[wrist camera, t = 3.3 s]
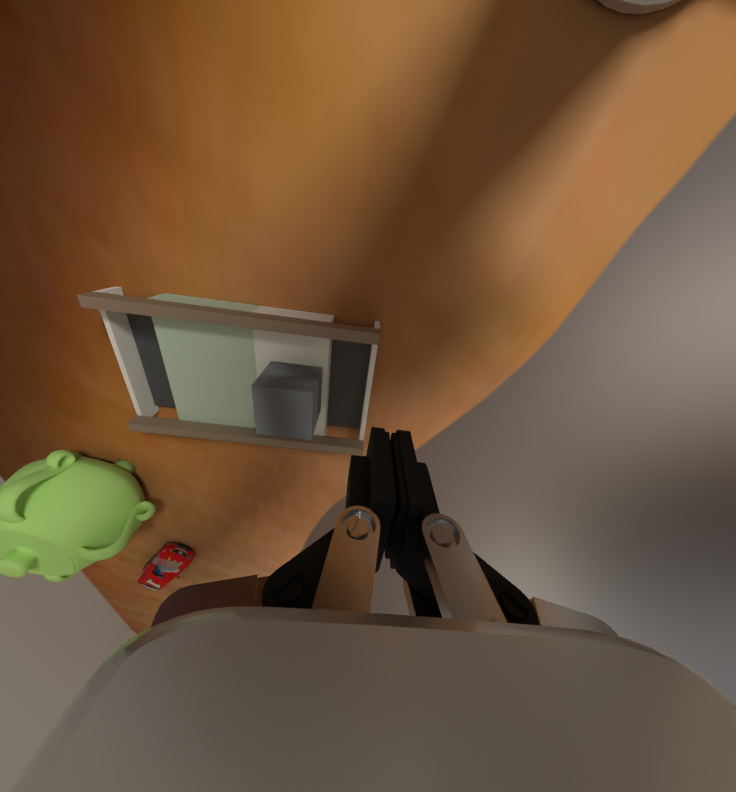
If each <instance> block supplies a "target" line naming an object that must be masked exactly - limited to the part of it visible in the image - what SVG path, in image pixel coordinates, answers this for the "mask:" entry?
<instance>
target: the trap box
mask: <svg viewBox="0 0 736 792" xmlns="http://www.w3.org/2000/svg"><path fill="white" fill-rule="evenodd" d="M77 297H78V300H79V302H80V305H81V307H83V308H91V309H99V310H100V313H101V316H102V319H103V321H104V324H105V327H106V330H107V333H108V335H109V338H110V341H111V344H112V346H113V349H114V352H115V355H116V357H117V360H118V363H119V366H120V369H121V371H122V374H123V377H124V380H125V382H126V385H127V388H128V391H129V393H130V396H131V399H132V402H133V405H134V407H135V410H136V413H137V416H136V417H134V418H133V419H132V420H130V421H129V422H128V423H127V425H128V428H129V430H130V431H137V432H146V433H155V434H164V435H174V436H183V437H192V438H201V439H210V440H219V441H229V442H238V443H247V444H256V445H265V446H274V447H284V448H293V449H302V450H311V451H320V452H329V453H339V454H348V455H357V456H362V452H363V440H364V434H365V427H366V420H367V414H368V407H369V400H370V394H371V387H372V380H373V374H374V367H375V361H376V354H377V347H378V345H379V341H380V335H381V333H380V321H375V323H374V328H369V327H362V326H354V325H346V324H339V323H334V315H328V314H321V313H313V312H306V311H298V310H290V309H283V308H275V307H268V306H260V305H252V304H245V303H237V302H230V301H222V300H214V299H207V298H199V297H192V296H184V295H176V294H169V293H164V294H160V295H157V296H153V297H150V298H139V297H132V296H124V294H123V290H122V287H111V288H107V289H102V290H97V291H92V292H87V293H83V294H78V295H77ZM271 361H275V362H283V363H292V364H300V365H308V366H316V367H323V372H322V394H321V411H320V414H319V417H318V420H317V424H316V427H315V430H314V434H313V437H312V440H307V439H298V438H289V437H280V436H271V435H262V434H256V428H255V418H254V408H253V398H252V388H251V385H252V384H253V383H254V381H255V380H256V379H257V378H258V377H259V375H260V374H261V373H262V372H263V370H264V369H265V368H266V367H267V365H268V364H269V363H270V362H271ZM158 406H165V407H174V408H176V410H177V413H178V417H179V420H177V419H168V418H159V417H152V416H154V415H155V414H156V413H157V412H158V411H160V410H159V407H158ZM327 425H332V426H341V427H350V428H359V429H360V431H359V440H356V439H347V438H338V437H329V436H325V435H326V431H327Z"/></svg>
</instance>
